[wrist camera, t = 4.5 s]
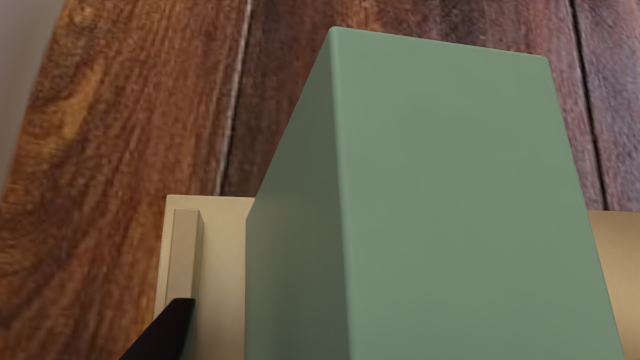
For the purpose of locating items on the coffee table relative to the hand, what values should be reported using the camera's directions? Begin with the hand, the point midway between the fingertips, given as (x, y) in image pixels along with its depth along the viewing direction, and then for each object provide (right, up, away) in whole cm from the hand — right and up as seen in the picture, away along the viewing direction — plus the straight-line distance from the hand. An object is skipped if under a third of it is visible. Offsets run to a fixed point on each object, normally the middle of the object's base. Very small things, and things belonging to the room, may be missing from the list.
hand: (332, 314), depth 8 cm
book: (-1, -4, +6) cm, 7 cm away
